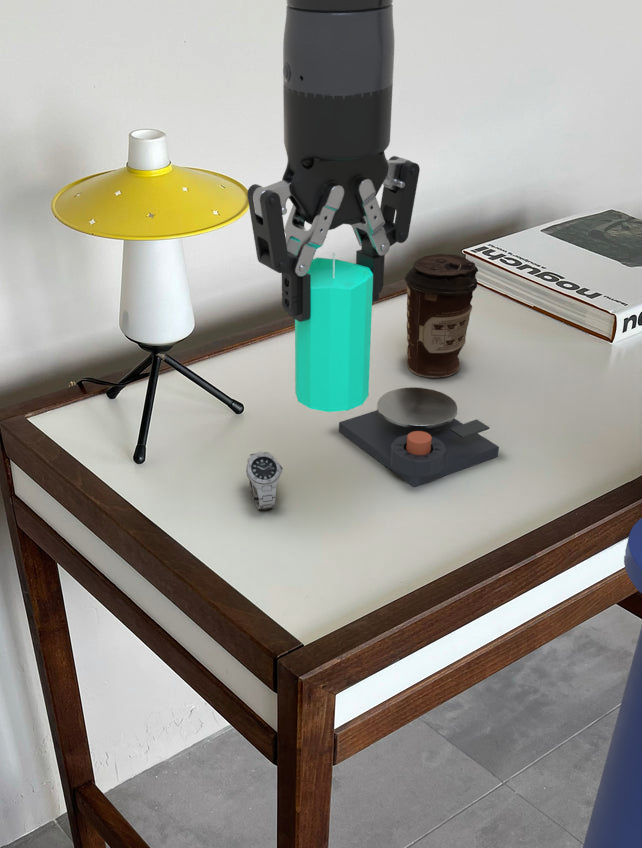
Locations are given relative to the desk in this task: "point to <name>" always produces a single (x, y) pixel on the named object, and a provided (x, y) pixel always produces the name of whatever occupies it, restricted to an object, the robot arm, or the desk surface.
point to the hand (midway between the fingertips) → (333, 307)
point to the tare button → (418, 443)
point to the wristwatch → (263, 478)
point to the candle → (335, 337)
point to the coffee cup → (438, 312)
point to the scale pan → (424, 410)
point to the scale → (415, 469)
